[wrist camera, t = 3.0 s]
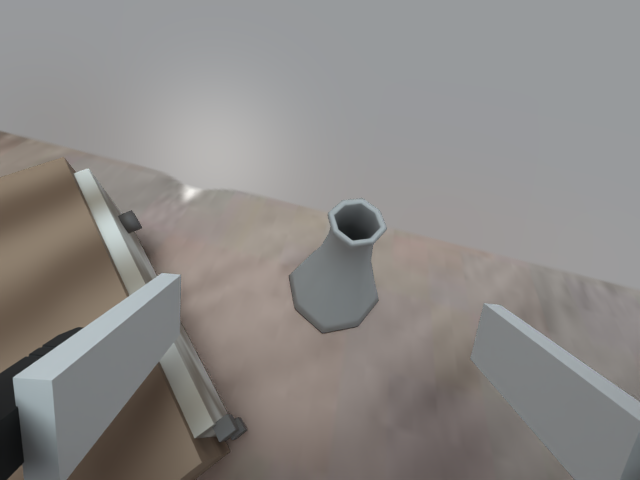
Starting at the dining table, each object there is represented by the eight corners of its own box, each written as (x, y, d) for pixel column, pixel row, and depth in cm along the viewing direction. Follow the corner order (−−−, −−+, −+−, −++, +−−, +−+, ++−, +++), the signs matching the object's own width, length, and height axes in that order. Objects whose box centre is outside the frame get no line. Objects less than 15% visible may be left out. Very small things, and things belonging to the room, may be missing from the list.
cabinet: (255, 431, 20) (241, 431, 13) (-54, 675, 14) (-374, 907, 7) (140, 217, 27) (93, 147, 21) (-94, 315, 21) (-268, 262, 15)
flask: (317, 350, 23) (338, 304, 15) (274, 273, 26) (270, 196, 18) (392, 305, 26) (447, 243, 17) (345, 239, 28) (371, 158, 20)
